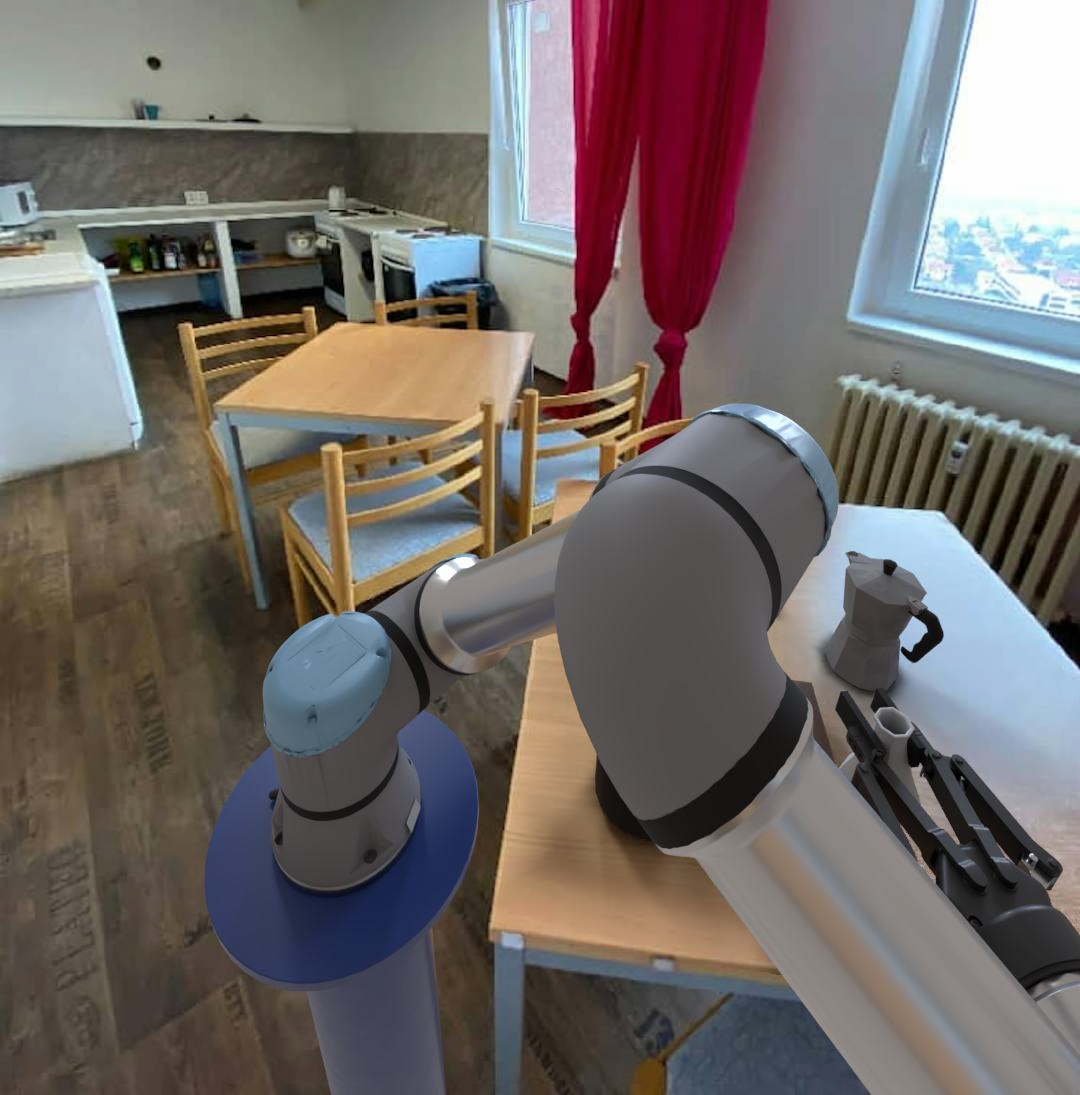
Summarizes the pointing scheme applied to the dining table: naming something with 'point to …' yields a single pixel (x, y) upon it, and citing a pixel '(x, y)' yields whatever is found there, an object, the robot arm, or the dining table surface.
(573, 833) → the dining table surface
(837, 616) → the dining table surface
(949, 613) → the dining table surface
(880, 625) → the coffeepot
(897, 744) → the flask
